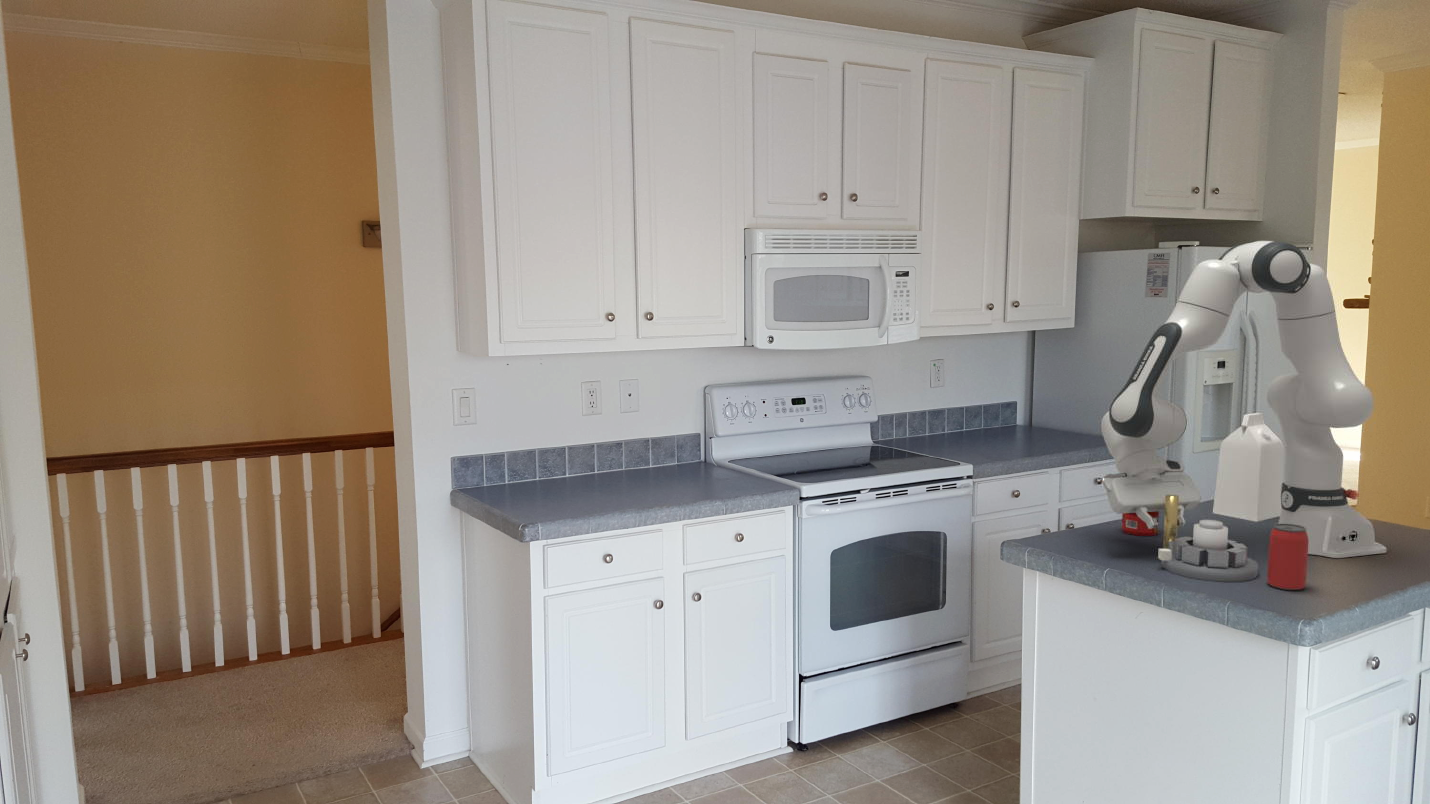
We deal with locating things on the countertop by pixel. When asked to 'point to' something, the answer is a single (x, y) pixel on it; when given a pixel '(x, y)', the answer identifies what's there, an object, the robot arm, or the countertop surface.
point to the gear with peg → (1195, 555)
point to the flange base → (1212, 571)
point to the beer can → (1288, 557)
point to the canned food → (1138, 524)
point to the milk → (1250, 472)
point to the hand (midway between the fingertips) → (1167, 526)
